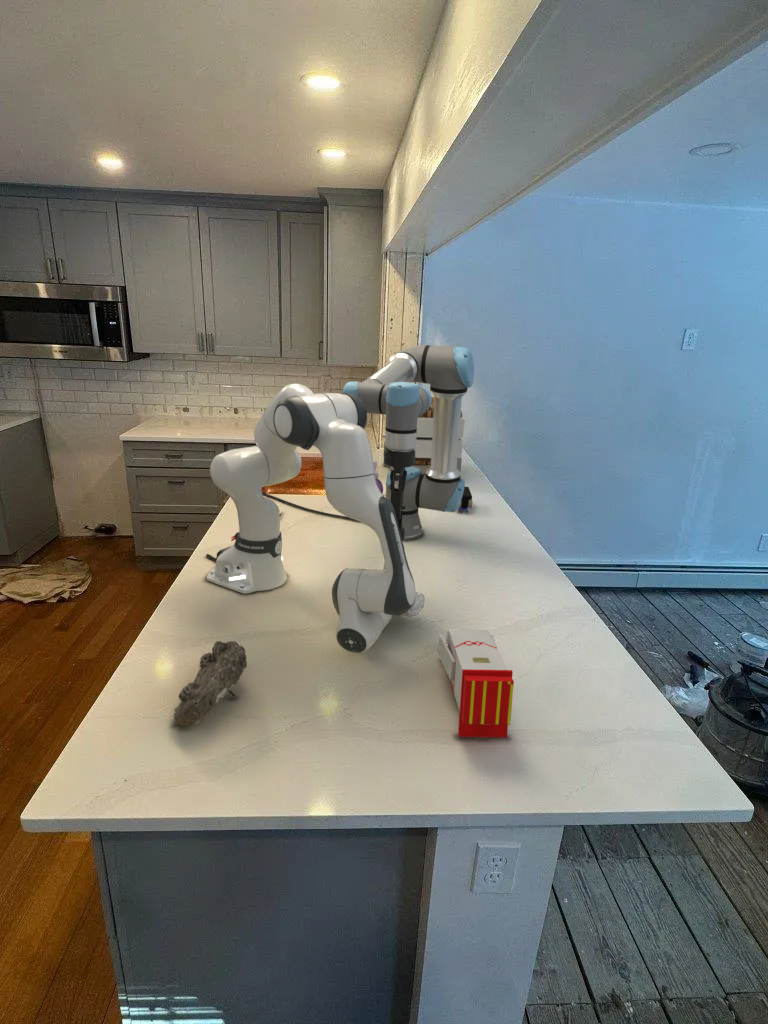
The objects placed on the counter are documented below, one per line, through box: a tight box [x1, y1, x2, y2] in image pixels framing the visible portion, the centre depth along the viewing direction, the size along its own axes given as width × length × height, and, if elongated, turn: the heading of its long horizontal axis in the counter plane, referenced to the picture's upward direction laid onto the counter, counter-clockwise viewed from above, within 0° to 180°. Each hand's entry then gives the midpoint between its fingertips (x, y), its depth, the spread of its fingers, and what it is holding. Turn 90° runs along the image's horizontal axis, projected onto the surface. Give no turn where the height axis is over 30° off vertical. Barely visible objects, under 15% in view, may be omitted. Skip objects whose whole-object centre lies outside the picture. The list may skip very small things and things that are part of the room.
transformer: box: [383, 396, 465, 474], centre depth 268 cm, size 34×33×41 cm
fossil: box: [173, 640, 248, 727], centre depth 113 cm, size 22×10×15 cm
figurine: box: [373, 460, 384, 495], centre depth 235 cm, size 9×10×15 cm
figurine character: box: [458, 486, 474, 513], centre depth 227 cm, size 7×8×15 cm
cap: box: [400, 527, 405, 541], centre depth 144 cm, size 5×5×2 cm
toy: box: [437, 628, 515, 738], centre depth 117 cm, size 12×13×30 cm
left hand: (393, 584), depth 149 cm, fingers closed on bottle, 5 cm apart
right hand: (395, 537), depth 144 cm, fingers open, 5 cm apart
